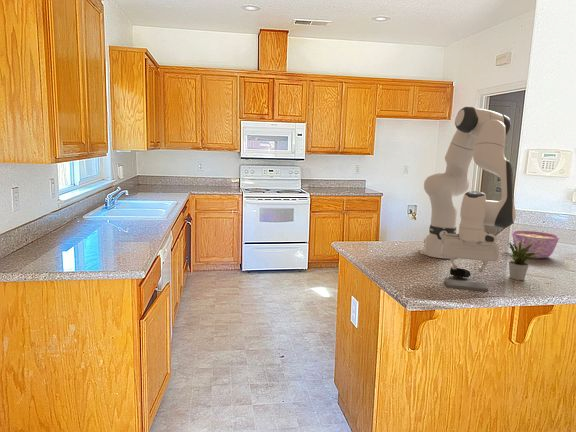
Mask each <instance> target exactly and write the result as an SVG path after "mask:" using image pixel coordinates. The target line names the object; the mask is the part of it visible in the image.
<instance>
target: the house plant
mask: <svg viewBox="0 0 576 432" xmlns="http://www.w3.org/2000/svg"><path fill="white" fill-rule="evenodd" d="M522 240H523V239H522ZM522 240H521V242H519V251H518V248H517V246H516V245H515V243H514V242H513V239H510V241H509V242H508V248H509V249H510V250H511V252H512V254H510V253H509V252H503V253H502V254H504V255H506V256H509V257H511V258H512V259H513V260H509V261H508V269H509V278H510V279H513V280H516V281H524V280H525V279H526V274H527V271H528V268H529V263H528V262H526V261H527V260H529V261H531V262H532V260H535V261H537V258H534V257H530V256H531V255H535V254H536V253H527V252H528V251H529V250H528V249H529V248H530V247H531V245H532V244H533V243H531V244H529V245H528V246H527V247H526V248H523V249H521V244H522ZM499 241H502V240H499ZM511 241H512V242H511ZM530 242H531V241H530ZM528 243H529V242H528ZM525 245H526V244H525ZM525 245H524V246H525ZM524 246H523V247H524ZM536 247H537V246H536ZM533 248H534V247H533ZM531 249H532V248H531ZM527 250H528V251H527ZM526 251H527V252H526ZM526 253H527V254H526ZM524 255H525V256H524Z"/></svg>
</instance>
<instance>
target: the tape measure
mask: <svg viewBox="0 0 576 432" xmlns="http://www.w3.org/2000/svg"><path fill="white" fill-rule="evenodd" d="M449 274H450V275H451V276H453V278H461V279H463V278H469V277H471V275H472V274H471V271H470V270H468V269H465V268H460V267H457V270H453V269H452V266H451V267H450V269H449Z"/></svg>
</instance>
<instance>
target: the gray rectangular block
mask: <svg viewBox="0 0 576 432" xmlns="http://www.w3.org/2000/svg"><path fill="white" fill-rule="evenodd" d="M444 283H445V285H446V288H451V289H461V290H462V289H463V290H470V291H472V290H473V291H479V292H480V291H481V292H489V287H488V286H487V284H486V283H485V282H481V281H480V282H479V281H469V280H461V279H460V280H459V279H451V278H444Z"/></svg>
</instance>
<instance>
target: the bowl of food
mask: <svg viewBox="0 0 576 432" xmlns="http://www.w3.org/2000/svg"><path fill="white" fill-rule="evenodd" d="M511 235H512V243H513V242H514V243H515V245H516V246H517V248H518V251H519V242H521V240H522V239H523V240H522V244H521V249H523V248H526V247H527V246H528V245H529V244H531V243H533V244H532V245H531V247H530V248H529V249H528V250H529V251H528V250H527V251H528V252H527V251H526V252H527V253H536V254H535V255H531V256H530V257H534V258H535V259H546V258H548V257H551V256H552V255H553V253H554V252H555V249H556V247H557V245H558V242H559V239H560V236H559V235H556V234H553V233H548V232H541V231H534V230H533V231H532V230H514V231H512V232H511ZM530 241H531V242H530ZM528 242H529V243H528ZM514 243H513V244H514ZM525 244H526V245H525ZM524 245H525V246H524ZM523 246H524V247H523ZM536 246H537V247H536ZM533 247H534V248H533ZM531 248H532V249H531ZM527 253H526V254H527ZM524 256H525V255H524ZM524 256H523V257H524Z"/></svg>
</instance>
